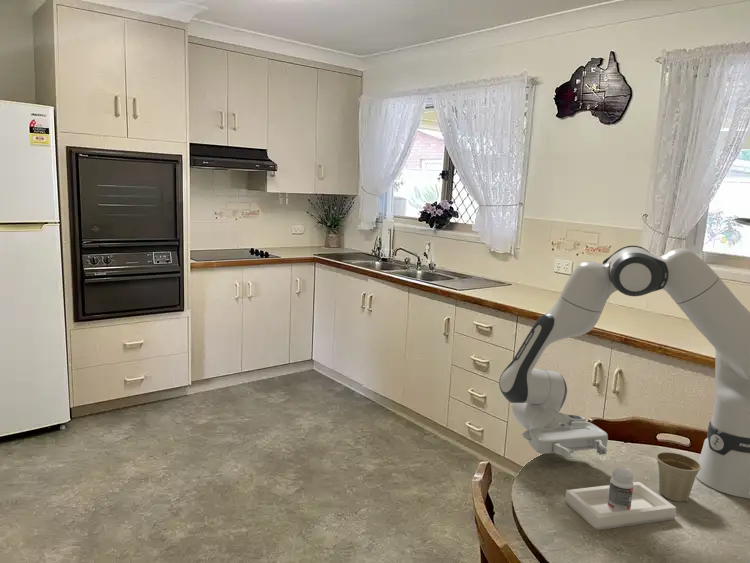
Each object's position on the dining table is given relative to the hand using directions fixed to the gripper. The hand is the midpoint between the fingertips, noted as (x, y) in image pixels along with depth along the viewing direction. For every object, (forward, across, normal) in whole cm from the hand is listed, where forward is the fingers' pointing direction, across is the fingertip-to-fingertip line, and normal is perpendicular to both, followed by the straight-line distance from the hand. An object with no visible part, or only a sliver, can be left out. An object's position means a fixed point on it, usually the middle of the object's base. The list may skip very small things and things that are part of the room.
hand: (587, 453), depth 133 cm
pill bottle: (+12, 0, +7) cm, 14 cm away
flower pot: (+9, +18, +8) cm, 22 cm away
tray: (+12, 0, +8) cm, 14 cm away
